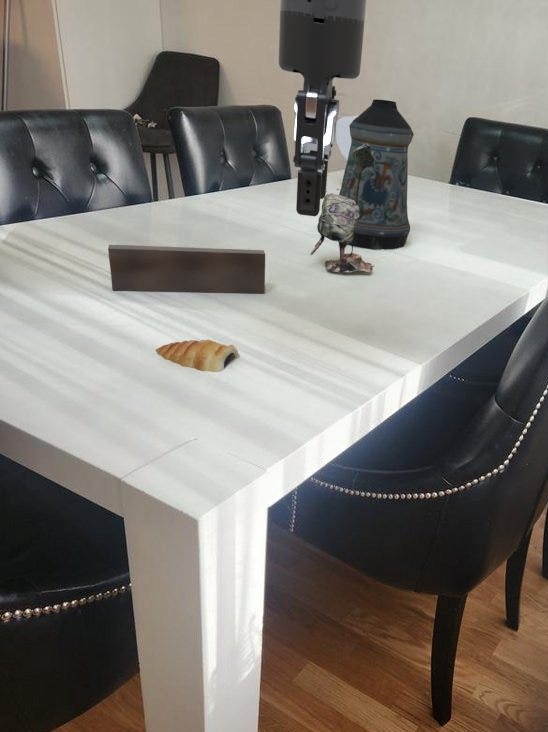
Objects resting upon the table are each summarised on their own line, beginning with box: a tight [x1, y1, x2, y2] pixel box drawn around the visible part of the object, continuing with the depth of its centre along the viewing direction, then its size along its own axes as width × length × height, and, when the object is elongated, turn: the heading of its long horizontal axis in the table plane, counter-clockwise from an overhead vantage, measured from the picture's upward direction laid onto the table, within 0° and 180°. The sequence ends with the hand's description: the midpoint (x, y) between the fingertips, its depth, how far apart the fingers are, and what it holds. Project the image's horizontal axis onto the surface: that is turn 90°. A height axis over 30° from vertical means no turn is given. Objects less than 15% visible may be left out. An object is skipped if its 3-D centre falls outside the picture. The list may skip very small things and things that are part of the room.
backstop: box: [107, 244, 266, 294], centre depth 96 cm, size 22×2×6 cm, turn 104°
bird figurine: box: [309, 143, 376, 274], centre depth 109 cm, size 8×11×20 cm
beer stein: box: [338, 99, 415, 251], centre depth 129 cm, size 16×19×25 cm
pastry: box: [155, 339, 240, 373], centre depth 74 cm, size 9×7×4 cm
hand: (311, 205), depth 66 cm, fingers open, 8 cm apart
